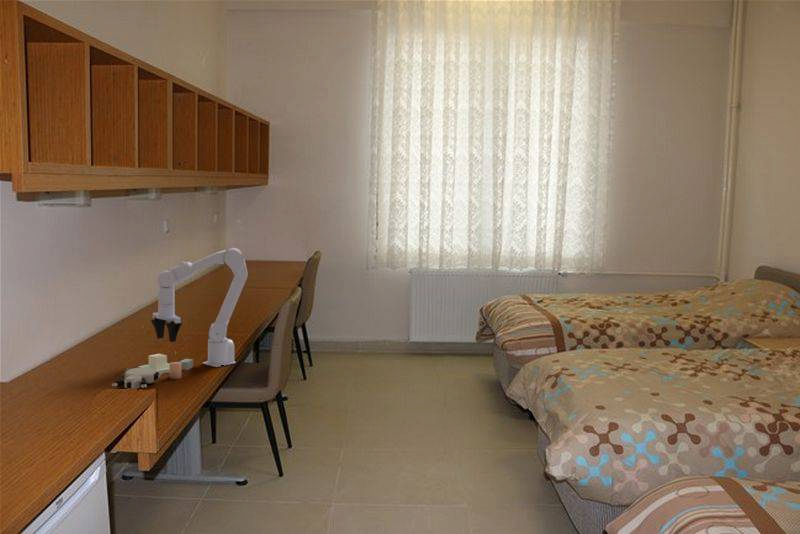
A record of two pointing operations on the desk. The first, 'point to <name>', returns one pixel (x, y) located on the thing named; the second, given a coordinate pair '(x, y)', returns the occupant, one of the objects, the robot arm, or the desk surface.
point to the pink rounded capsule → (175, 370)
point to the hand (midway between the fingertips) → (166, 339)
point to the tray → (157, 370)
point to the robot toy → (138, 378)
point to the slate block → (187, 364)
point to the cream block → (158, 361)
